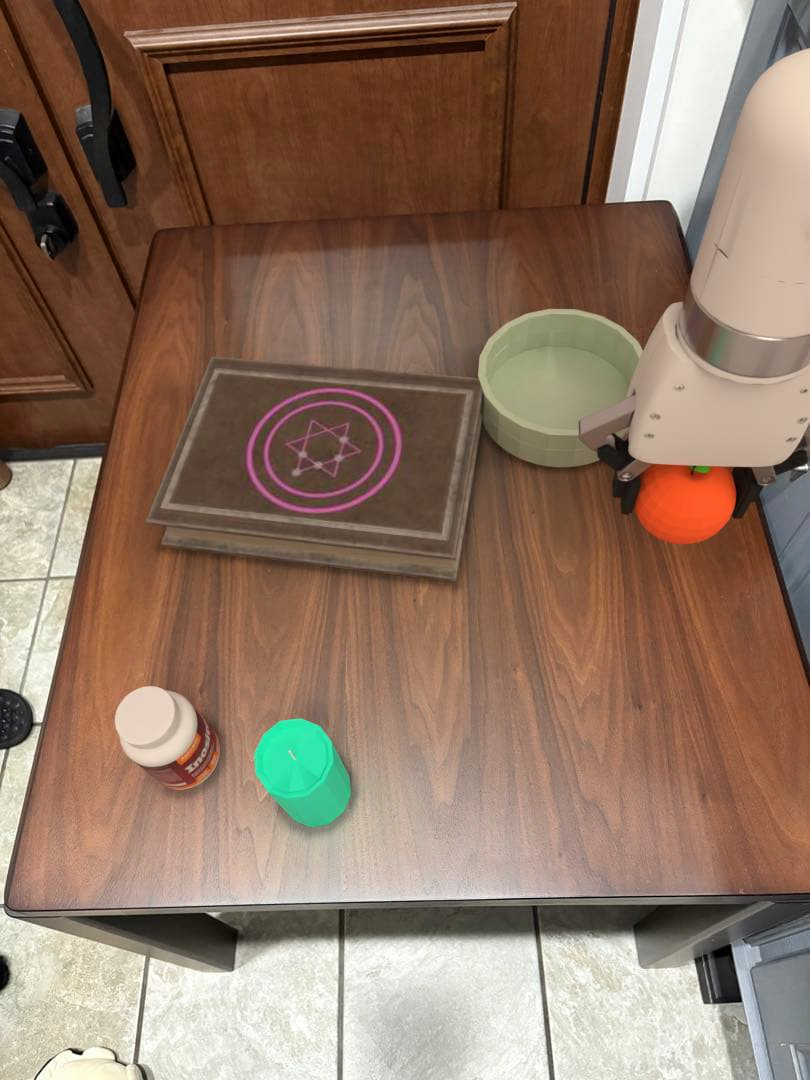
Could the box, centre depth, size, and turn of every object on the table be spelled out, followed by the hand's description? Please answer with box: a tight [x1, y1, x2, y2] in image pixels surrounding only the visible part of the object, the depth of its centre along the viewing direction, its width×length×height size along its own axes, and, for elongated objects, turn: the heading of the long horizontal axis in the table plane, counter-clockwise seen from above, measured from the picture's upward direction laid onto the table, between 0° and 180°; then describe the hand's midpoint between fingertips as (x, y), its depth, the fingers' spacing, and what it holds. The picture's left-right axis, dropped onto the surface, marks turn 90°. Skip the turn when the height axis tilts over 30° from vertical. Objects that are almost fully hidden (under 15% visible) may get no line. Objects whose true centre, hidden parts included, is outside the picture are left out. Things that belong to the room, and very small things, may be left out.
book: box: [145, 356, 483, 583], centre depth 83 cm, size 30×22×5 cm
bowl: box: [477, 308, 644, 468], centre depth 85 cm, size 18×18×6 cm
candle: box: [253, 717, 352, 828], centre depth 63 cm, size 6×6×12 cm
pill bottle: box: [114, 685, 221, 791], centre depth 65 cm, size 6×6×11 cm
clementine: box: [633, 464, 737, 545], centre depth 56 cm, size 8×7×7 cm
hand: (678, 498), depth 57 cm, fingers closed on clementine, 7 cm apart
